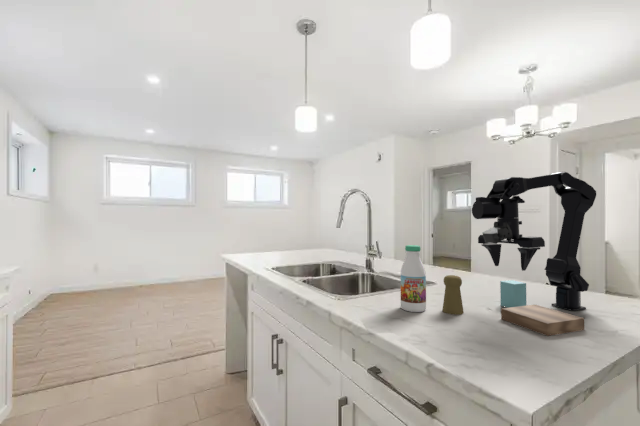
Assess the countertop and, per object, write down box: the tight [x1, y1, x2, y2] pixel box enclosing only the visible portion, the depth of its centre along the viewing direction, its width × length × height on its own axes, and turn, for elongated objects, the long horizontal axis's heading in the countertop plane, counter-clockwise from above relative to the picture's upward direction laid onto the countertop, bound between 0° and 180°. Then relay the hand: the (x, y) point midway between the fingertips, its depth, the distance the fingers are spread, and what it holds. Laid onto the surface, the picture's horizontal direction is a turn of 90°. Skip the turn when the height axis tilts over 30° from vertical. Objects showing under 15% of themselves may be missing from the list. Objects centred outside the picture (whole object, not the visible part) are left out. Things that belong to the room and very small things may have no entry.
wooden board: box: [500, 304, 586, 337], centre depth 83 cm, size 13×13×3 cm
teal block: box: [499, 279, 527, 308], centre depth 99 cm, size 5×5×8 cm
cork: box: [442, 274, 464, 316], centre depth 94 cm, size 6×6×11 cm
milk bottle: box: [400, 244, 427, 313], centre depth 97 cm, size 8×8×20 cm
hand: (509, 268), depth 96 cm, fingers open, 9 cm apart
